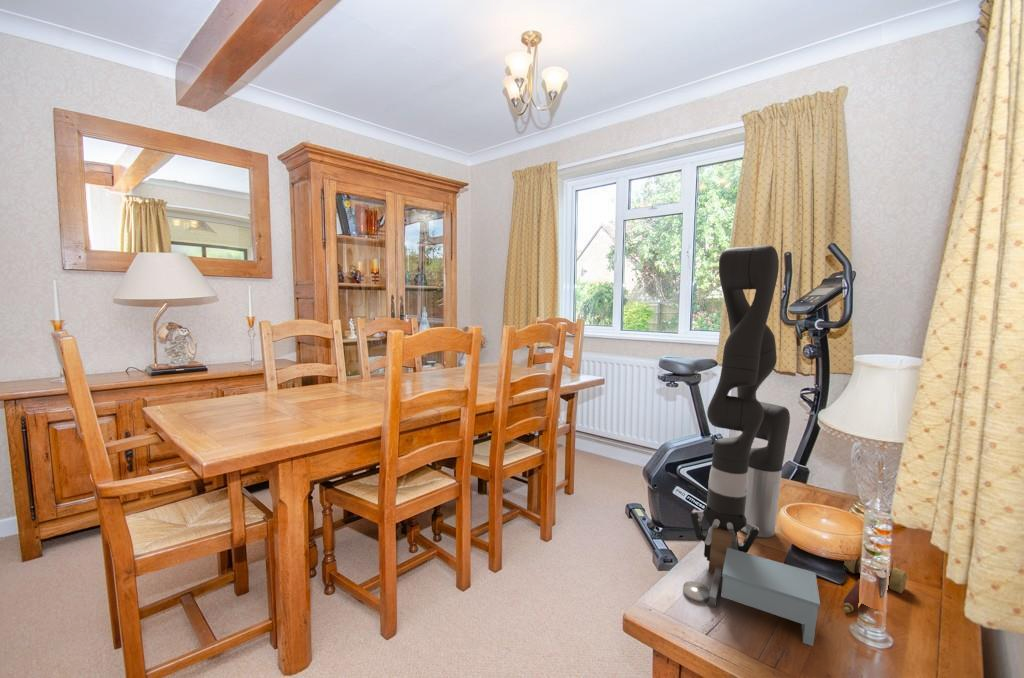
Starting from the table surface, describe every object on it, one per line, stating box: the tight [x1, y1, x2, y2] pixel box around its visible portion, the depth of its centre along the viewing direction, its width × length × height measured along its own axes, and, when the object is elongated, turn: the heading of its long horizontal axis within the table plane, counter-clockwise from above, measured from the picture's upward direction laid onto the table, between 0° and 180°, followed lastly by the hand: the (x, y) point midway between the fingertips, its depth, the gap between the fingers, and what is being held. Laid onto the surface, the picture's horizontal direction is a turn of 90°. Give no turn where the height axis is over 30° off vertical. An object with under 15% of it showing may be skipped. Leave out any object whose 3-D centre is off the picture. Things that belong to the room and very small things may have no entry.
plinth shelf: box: [720, 548, 821, 647], centre depth 88 cm, size 10×15×8 cm
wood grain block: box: [707, 528, 733, 609], centre depth 95 cm, size 16×4×10 cm, turn 150°
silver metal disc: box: [682, 580, 710, 604], centre depth 93 cm, size 5×5×1 cm
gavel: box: [843, 557, 908, 614], centre depth 95 cm, size 21×5×10 cm
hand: (719, 562), depth 101 cm, fingers closed on wood grain block, 4 cm apart
